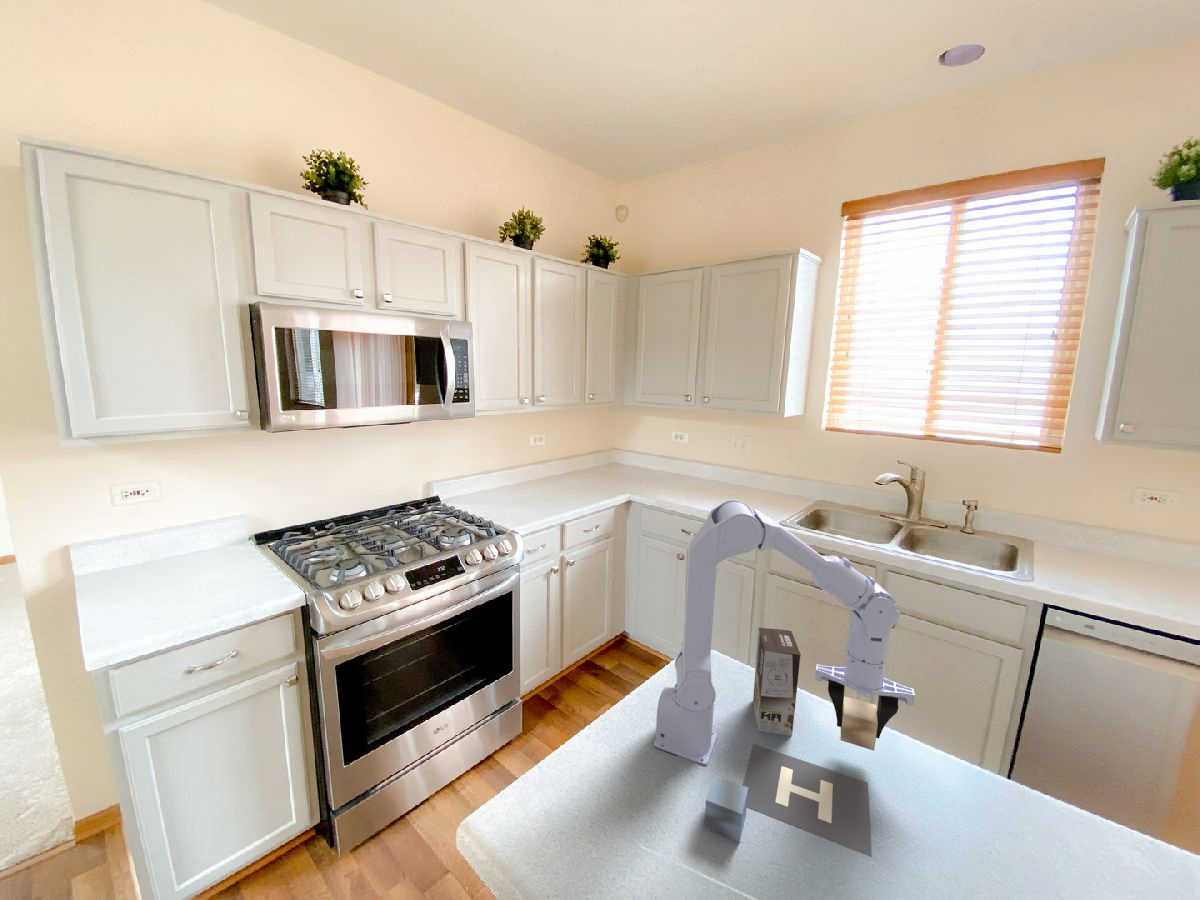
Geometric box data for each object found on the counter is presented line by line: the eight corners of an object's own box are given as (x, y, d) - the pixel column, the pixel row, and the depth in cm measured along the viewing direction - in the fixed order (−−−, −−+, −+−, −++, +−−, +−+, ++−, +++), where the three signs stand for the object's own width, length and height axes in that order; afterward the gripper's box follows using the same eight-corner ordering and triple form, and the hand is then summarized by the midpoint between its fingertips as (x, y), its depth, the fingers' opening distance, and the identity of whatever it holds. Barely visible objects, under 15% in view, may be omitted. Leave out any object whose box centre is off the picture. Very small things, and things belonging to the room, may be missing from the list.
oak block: (840, 740, 83) (843, 713, 82) (840, 721, 88) (843, 696, 87) (874, 750, 81) (877, 723, 80) (873, 731, 85) (876, 705, 85)
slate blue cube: (703, 830, 71) (706, 799, 71) (712, 803, 76) (714, 774, 75) (739, 845, 69) (741, 814, 68) (745, 817, 74) (748, 787, 73)
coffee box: (793, 737, 90) (801, 655, 88) (756, 731, 91) (763, 650, 89) (785, 705, 99) (792, 629, 96) (752, 700, 100) (758, 625, 98)
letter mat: (737, 804, 76) (737, 803, 76) (753, 744, 88) (753, 743, 88) (871, 857, 68) (871, 856, 68) (867, 783, 80) (867, 782, 80)
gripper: (817, 654, 82) (809, 729, 84) (921, 680, 75) (910, 760, 77) (819, 635, 88) (812, 704, 90) (915, 657, 82) (905, 731, 84)
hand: (857, 728), depth 84 cm, fingers closed on oak block, 5 cm apart
